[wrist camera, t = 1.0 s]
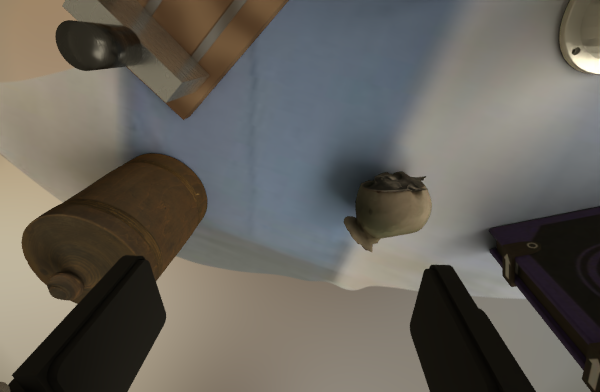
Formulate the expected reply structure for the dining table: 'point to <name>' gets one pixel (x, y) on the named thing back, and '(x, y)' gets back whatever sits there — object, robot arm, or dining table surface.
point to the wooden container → (116, 224)
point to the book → (559, 278)
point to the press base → (211, 35)
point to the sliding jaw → (127, 46)
